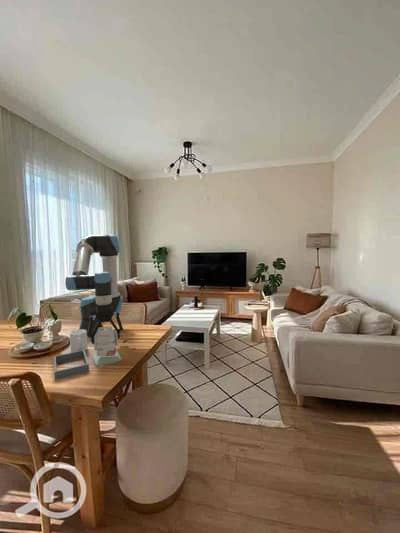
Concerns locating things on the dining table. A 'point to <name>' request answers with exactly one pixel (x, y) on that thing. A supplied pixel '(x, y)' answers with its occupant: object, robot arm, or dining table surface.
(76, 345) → the mug
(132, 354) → the dining table surface
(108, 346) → the ink cartridge box
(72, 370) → the bin
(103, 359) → the mat
